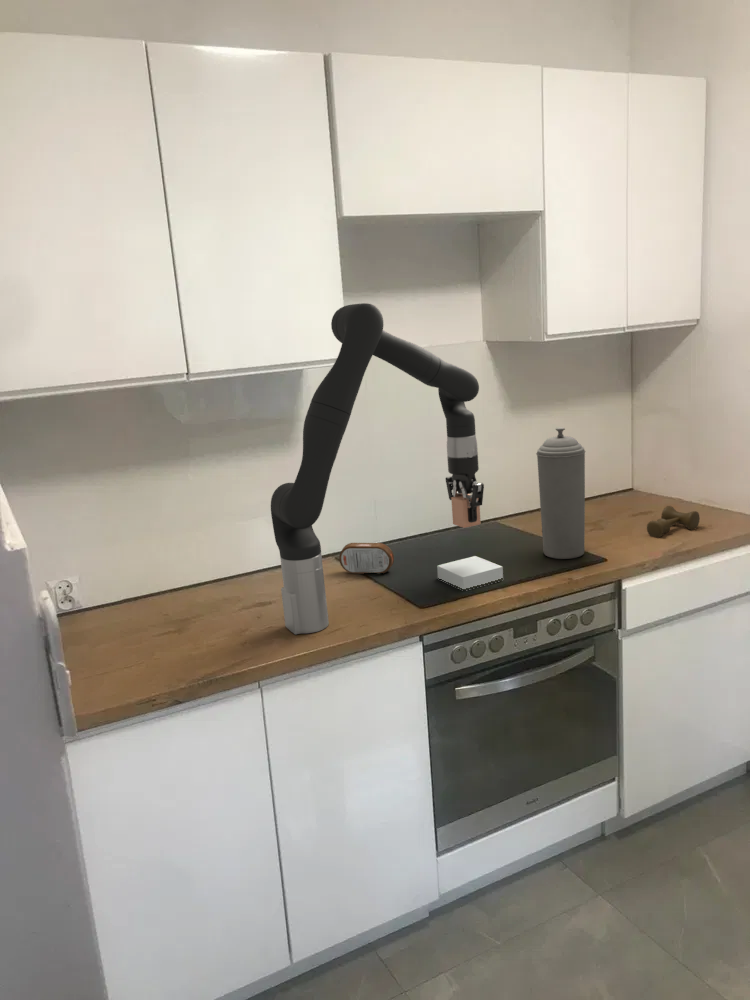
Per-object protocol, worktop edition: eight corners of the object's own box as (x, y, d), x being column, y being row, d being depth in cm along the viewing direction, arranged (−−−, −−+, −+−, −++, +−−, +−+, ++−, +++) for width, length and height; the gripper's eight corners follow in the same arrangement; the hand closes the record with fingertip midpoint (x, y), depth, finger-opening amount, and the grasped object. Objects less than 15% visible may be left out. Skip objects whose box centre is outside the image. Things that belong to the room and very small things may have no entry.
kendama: (638, 536, 227) (677, 519, 238) (668, 543, 220) (707, 525, 231) (638, 516, 225) (677, 500, 237) (668, 523, 218) (707, 505, 229)
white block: (463, 592, 194) (463, 577, 193) (438, 580, 204) (437, 565, 203) (503, 581, 199) (502, 566, 198) (476, 570, 210) (475, 555, 209)
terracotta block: (464, 527, 195) (462, 500, 194) (453, 524, 199) (451, 497, 198) (480, 524, 197) (479, 497, 196) (469, 520, 202) (467, 493, 200)
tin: (395, 571, 213) (393, 541, 211) (392, 575, 210) (390, 545, 208) (342, 571, 217) (340, 542, 216) (339, 574, 215) (336, 545, 213)
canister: (542, 547, 223) (537, 425, 215) (588, 547, 219) (585, 422, 211) (538, 561, 211) (533, 432, 203) (587, 561, 207) (584, 430, 200)
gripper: (434, 452, 199) (438, 517, 203) (466, 459, 186) (470, 528, 190) (458, 448, 202) (462, 511, 206) (491, 454, 190) (495, 522, 193)
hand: (466, 519), depth 198 cm, fingers closed on terracotta block, 5 cm apart
